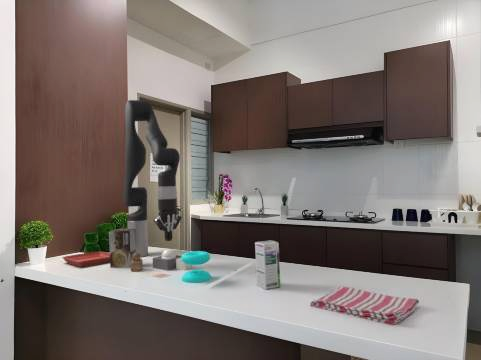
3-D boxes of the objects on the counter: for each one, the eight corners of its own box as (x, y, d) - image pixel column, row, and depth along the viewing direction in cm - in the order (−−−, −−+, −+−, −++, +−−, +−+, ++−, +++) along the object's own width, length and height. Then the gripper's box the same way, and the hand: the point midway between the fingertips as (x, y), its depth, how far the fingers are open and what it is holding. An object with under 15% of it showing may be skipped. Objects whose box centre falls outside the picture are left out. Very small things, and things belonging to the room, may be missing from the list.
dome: (158, 264, 147) (158, 249, 147) (169, 261, 152) (169, 247, 152) (168, 266, 144) (167, 250, 144) (178, 263, 148) (178, 248, 148)
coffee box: (137, 266, 155) (136, 228, 155) (131, 270, 148) (130, 230, 149) (116, 266, 156) (115, 228, 156) (109, 270, 149) (108, 230, 149)
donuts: (209, 249, 134) (211, 254, 124) (209, 277, 133) (212, 284, 124) (181, 251, 132) (181, 256, 122) (182, 279, 132) (182, 287, 122)
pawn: (128, 270, 143) (128, 253, 143) (138, 268, 146) (137, 251, 146) (135, 272, 140) (134, 254, 140) (144, 270, 143) (144, 252, 143)
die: (176, 269, 143) (176, 258, 143) (182, 267, 146) (181, 256, 146) (185, 270, 141) (184, 259, 141) (190, 268, 145) (190, 257, 145)
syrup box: (265, 289, 116) (264, 243, 116) (256, 285, 121) (254, 241, 121) (280, 287, 118) (279, 241, 118) (270, 282, 124) (269, 239, 124)
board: (121, 275, 141) (120, 261, 141) (166, 264, 158) (166, 252, 158) (154, 282, 128) (153, 268, 128) (199, 269, 145) (199, 257, 145)
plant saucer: (100, 257, 180) (100, 250, 180) (118, 262, 167) (118, 254, 167) (61, 264, 167) (61, 256, 167) (78, 269, 154) (77, 261, 154)
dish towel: (397, 329, 84) (396, 313, 84) (308, 308, 99) (308, 295, 99) (420, 308, 96) (420, 295, 96) (338, 292, 112) (338, 281, 112)
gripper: (173, 196, 155) (174, 237, 156) (148, 198, 145) (149, 242, 145) (186, 196, 151) (187, 239, 151) (160, 198, 140) (161, 244, 141)
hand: (168, 240), depth 148 cm, fingers closed
